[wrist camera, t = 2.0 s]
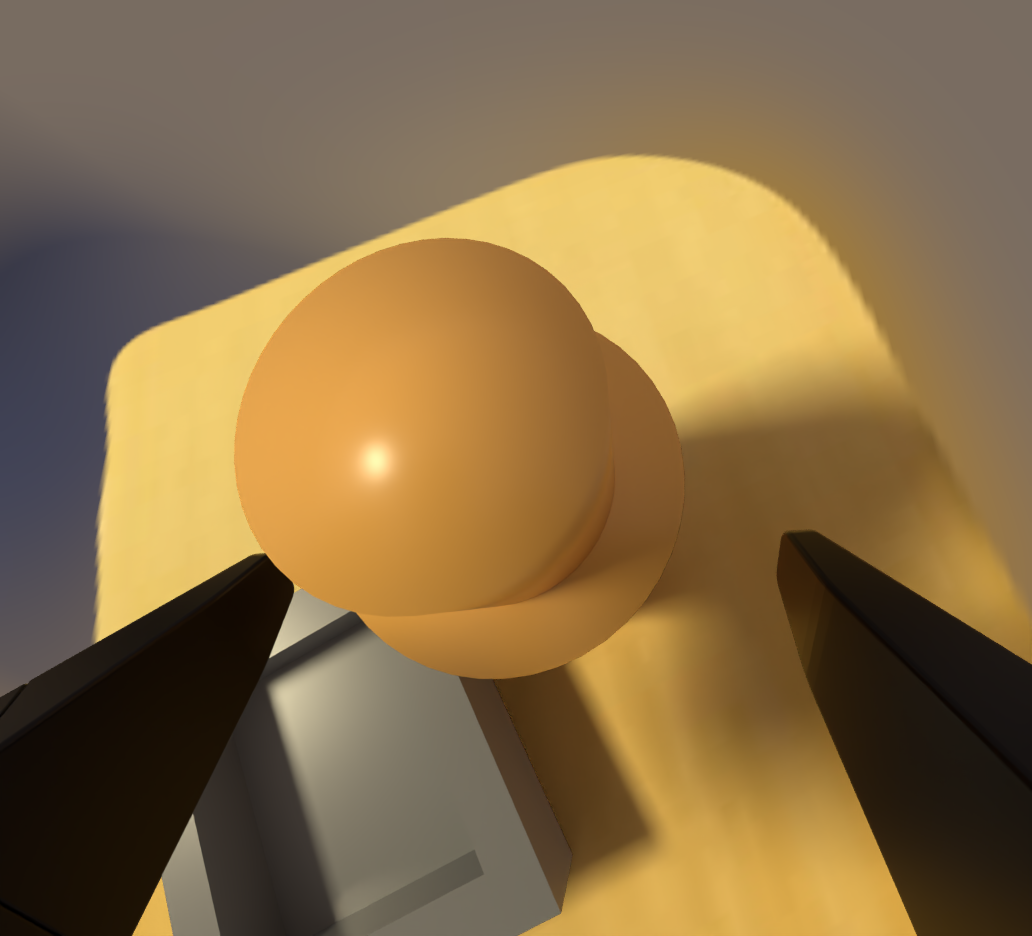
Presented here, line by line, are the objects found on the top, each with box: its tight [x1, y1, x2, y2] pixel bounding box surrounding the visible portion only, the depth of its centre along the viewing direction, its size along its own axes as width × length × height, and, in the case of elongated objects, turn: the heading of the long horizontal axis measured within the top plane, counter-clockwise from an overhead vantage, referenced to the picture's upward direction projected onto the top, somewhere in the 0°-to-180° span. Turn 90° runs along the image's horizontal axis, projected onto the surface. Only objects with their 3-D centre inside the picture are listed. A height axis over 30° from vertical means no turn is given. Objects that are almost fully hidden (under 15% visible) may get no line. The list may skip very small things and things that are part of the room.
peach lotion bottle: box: [234, 238, 685, 679], centre depth 11 cm, size 6×6×13 cm
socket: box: [162, 589, 572, 936], centre depth 15 cm, size 11×11×3 cm
